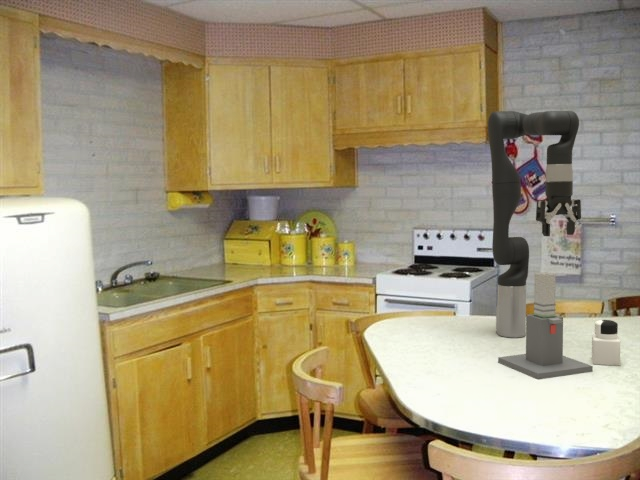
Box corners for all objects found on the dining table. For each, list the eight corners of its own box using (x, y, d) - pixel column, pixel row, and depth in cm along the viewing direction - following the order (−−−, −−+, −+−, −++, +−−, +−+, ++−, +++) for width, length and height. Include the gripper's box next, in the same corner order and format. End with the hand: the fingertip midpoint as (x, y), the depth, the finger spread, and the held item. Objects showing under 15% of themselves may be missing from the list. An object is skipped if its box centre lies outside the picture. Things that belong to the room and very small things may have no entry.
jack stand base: (498, 362, 197) (498, 313, 196) (549, 355, 203) (549, 307, 202) (538, 379, 180) (538, 325, 179) (592, 371, 186) (593, 319, 185)
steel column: (533, 338, 192) (534, 273, 190) (545, 336, 193) (546, 272, 192) (542, 341, 188) (543, 275, 186) (555, 339, 190) (555, 274, 188)
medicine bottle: (617, 359, 197) (618, 319, 196) (620, 366, 191) (620, 324, 190) (591, 358, 200) (592, 317, 199) (592, 364, 193) (593, 322, 192)
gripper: (570, 179, 204) (569, 233, 205) (530, 180, 199) (530, 235, 201) (587, 179, 197) (587, 235, 198) (547, 180, 192) (546, 237, 193)
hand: (558, 235), depth 199 cm, fingers open, 8 cm apart
